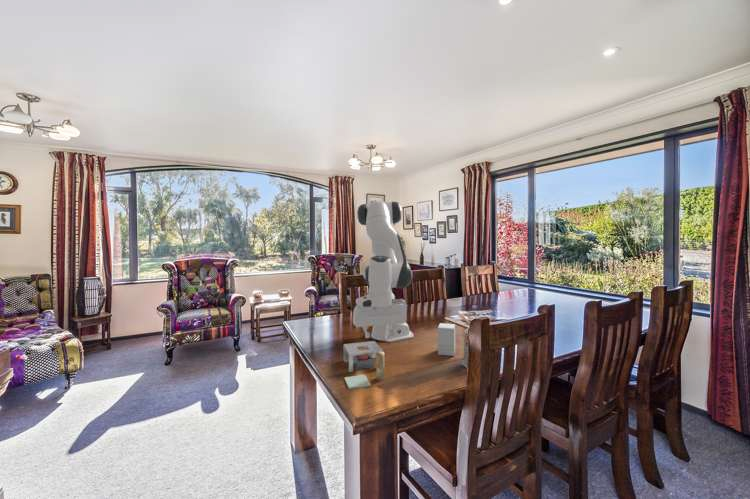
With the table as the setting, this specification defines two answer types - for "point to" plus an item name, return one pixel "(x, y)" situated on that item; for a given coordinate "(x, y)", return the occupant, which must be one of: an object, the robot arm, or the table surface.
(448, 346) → the supplement box
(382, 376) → the dowel
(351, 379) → the coaster
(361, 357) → the button
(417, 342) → the table surface
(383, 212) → the robot arm
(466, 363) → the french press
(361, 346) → the box
